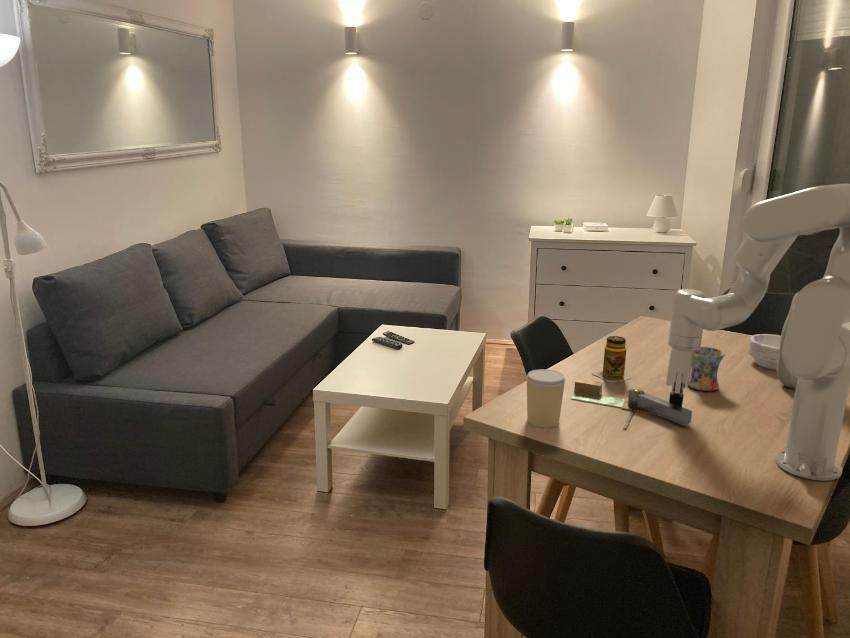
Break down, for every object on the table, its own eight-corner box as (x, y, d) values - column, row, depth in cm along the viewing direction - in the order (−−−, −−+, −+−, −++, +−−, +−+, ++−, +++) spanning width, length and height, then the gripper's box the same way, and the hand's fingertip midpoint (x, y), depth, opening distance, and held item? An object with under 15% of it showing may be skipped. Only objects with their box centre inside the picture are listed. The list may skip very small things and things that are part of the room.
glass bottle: (817, 395, 191) (834, 296, 184) (775, 390, 194) (791, 292, 187) (810, 383, 200) (827, 288, 193) (771, 378, 203) (786, 284, 196)
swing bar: (624, 402, 182) (625, 389, 181) (634, 399, 185) (635, 386, 184) (681, 426, 168) (683, 412, 167) (692, 422, 171) (693, 408, 170)
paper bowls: (808, 375, 207) (813, 350, 205) (754, 372, 209) (758, 346, 207) (791, 359, 221) (795, 335, 219) (740, 356, 223) (743, 332, 221)
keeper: (623, 408, 181) (624, 396, 180) (569, 398, 186) (570, 387, 186) (628, 398, 188) (629, 386, 187) (576, 389, 193) (577, 378, 192)
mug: (714, 396, 190) (719, 359, 187) (679, 388, 195) (684, 352, 192) (726, 384, 199) (731, 348, 196) (693, 376, 204) (698, 342, 201)
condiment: (612, 383, 198) (616, 343, 195) (591, 374, 205) (594, 335, 202) (631, 378, 202) (634, 339, 199) (609, 370, 209) (612, 331, 206)
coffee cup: (567, 418, 174) (571, 373, 171) (554, 432, 166) (557, 384, 163) (532, 410, 179) (535, 366, 175) (518, 423, 171) (520, 377, 168)
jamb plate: (663, 436, 164) (663, 435, 164) (611, 427, 169) (612, 425, 169) (673, 407, 182) (673, 406, 181) (625, 399, 186) (626, 398, 186)
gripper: (670, 329, 179) (661, 395, 184) (666, 346, 165) (656, 417, 171) (701, 333, 176) (691, 400, 181) (700, 351, 163) (689, 423, 168)
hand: (674, 408), depth 176 cm, fingers closed
